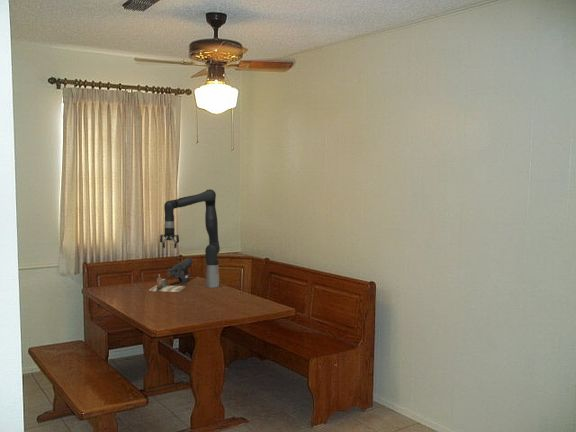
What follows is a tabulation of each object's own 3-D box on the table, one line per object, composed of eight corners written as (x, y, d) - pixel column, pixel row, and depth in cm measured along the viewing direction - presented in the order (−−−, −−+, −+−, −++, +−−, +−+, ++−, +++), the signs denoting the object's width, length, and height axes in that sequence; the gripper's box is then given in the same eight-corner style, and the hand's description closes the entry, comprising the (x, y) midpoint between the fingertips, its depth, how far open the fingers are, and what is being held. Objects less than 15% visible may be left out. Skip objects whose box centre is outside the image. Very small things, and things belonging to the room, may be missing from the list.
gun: (194, 281, 438) (194, 257, 437) (172, 288, 413) (172, 262, 411) (187, 280, 441) (187, 256, 440) (165, 287, 416) (165, 261, 414)
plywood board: (185, 287, 414) (185, 286, 414) (179, 291, 400) (179, 290, 399) (155, 286, 416) (155, 285, 416) (149, 291, 401) (149, 289, 401)
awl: (162, 288, 405) (162, 273, 405) (160, 289, 402) (160, 274, 401) (157, 288, 406) (157, 273, 405) (156, 289, 402) (156, 274, 401)
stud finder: (166, 285, 414) (166, 278, 414) (164, 287, 408) (164, 280, 408) (161, 285, 415) (161, 278, 414) (158, 287, 409) (158, 279, 408)
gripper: (180, 226, 416) (180, 247, 417) (161, 226, 417) (161, 247, 419) (177, 227, 409) (177, 249, 410) (158, 227, 410) (158, 248, 411)
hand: (169, 248), depth 414 cm, fingers open, 8 cm apart
